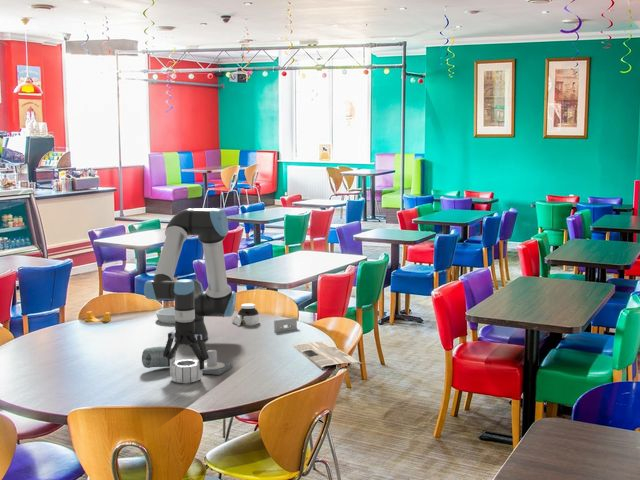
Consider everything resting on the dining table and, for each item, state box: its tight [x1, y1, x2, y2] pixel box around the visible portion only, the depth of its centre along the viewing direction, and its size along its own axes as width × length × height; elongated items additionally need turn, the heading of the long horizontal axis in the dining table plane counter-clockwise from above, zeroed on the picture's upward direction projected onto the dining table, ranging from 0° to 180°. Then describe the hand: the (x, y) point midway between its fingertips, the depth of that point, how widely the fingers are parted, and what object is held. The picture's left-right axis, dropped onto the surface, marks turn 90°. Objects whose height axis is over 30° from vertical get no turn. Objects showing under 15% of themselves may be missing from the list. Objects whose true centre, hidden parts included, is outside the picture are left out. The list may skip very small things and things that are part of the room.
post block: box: [202, 349, 233, 376], centre depth 305 cm, size 12×12×8 cm
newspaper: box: [292, 340, 363, 370], centre depth 324 cm, size 37×19×3 cm, turn 20°
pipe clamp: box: [84, 310, 112, 323], centre depth 385 cm, size 12×4×6 cm, turn 76°
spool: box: [141, 346, 177, 369], centre depth 306 cm, size 14×10×10 cm
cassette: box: [273, 317, 298, 333], centre depth 363 cm, size 12×2×8 cm, turn 122°
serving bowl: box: [155, 306, 177, 325], centre depth 387 cm, size 21×21×7 cm
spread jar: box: [231, 302, 260, 327], centre depth 377 cm, size 12×11×12 cm
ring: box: [171, 358, 202, 384], centre depth 293 cm, size 11×11×6 cm
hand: (186, 376), depth 293 cm, fingers closed on ring, 11 cm apart
